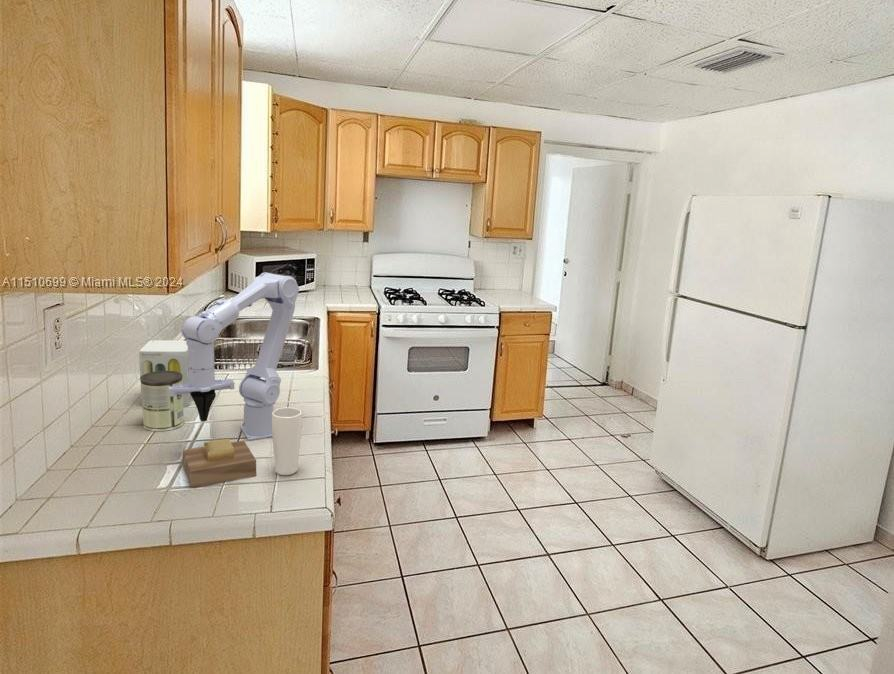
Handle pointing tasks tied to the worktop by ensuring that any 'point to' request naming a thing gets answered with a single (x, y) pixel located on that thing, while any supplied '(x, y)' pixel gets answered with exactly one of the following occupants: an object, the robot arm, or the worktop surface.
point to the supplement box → (166, 360)
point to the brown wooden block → (218, 466)
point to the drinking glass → (286, 439)
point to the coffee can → (161, 401)
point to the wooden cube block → (218, 450)
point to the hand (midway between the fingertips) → (203, 419)
